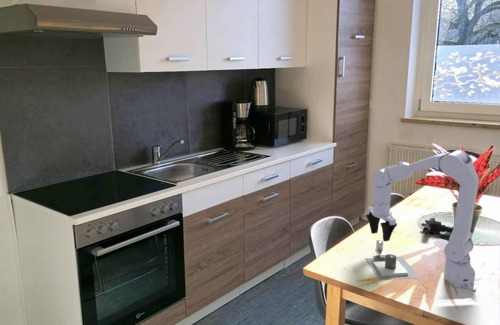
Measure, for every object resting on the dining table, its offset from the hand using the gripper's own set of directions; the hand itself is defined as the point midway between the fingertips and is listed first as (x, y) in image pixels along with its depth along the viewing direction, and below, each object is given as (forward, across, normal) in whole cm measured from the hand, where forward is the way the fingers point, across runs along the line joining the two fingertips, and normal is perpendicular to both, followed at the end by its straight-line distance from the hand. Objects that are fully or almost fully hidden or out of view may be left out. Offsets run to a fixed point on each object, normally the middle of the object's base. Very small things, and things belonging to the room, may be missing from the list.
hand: (380, 236), depth 161 cm
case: (+9, -9, +1) cm, 13 cm away
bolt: (+6, -1, 0) cm, 6 cm away
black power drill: (+9, +13, -39) cm, 42 cm away
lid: (+8, -11, +3) cm, 13 cm away
